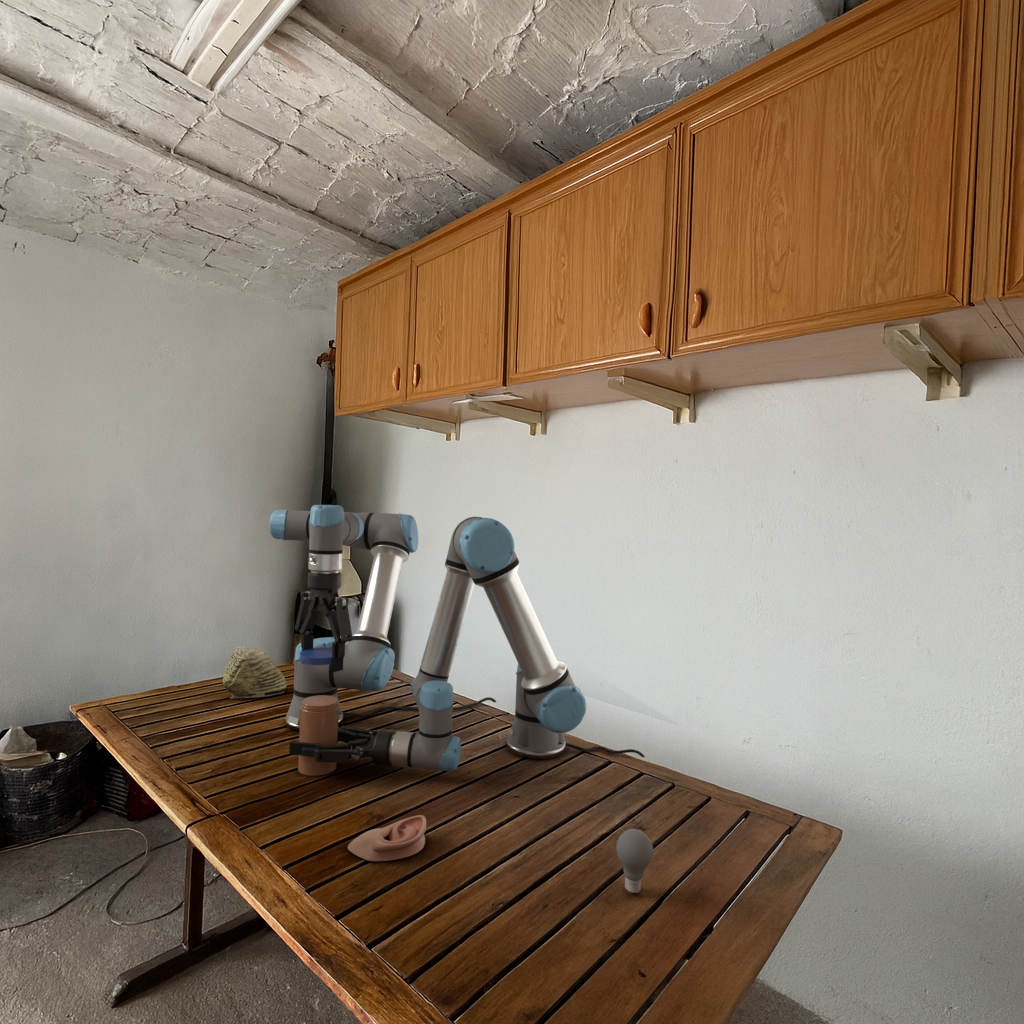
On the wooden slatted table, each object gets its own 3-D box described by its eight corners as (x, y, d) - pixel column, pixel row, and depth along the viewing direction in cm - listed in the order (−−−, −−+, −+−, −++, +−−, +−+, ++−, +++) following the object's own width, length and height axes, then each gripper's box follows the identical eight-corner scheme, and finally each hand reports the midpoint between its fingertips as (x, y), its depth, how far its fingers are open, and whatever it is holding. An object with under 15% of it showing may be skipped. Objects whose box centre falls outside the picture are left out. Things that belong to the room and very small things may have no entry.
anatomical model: (340, 834, 112) (368, 804, 123) (339, 856, 112) (367, 824, 123) (411, 845, 109) (433, 813, 120) (410, 868, 109) (432, 834, 120)
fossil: (218, 695, 195) (220, 647, 195) (278, 685, 208) (279, 640, 207) (228, 703, 189) (230, 653, 188) (289, 692, 201) (290, 645, 201)
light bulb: (610, 879, 108) (613, 822, 108) (644, 879, 109) (647, 822, 109) (619, 902, 102) (622, 840, 102) (655, 901, 103) (658, 840, 103)
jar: (316, 779, 142) (319, 709, 142) (289, 769, 146) (292, 701, 146) (344, 765, 149) (347, 699, 149) (317, 757, 154) (320, 692, 153)
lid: (306, 653, 152) (306, 646, 152) (348, 654, 153) (348, 648, 153) (294, 664, 142) (294, 657, 142) (338, 665, 143) (338, 658, 143)
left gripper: (280, 567, 150) (277, 660, 151) (345, 578, 138) (342, 679, 138) (306, 565, 156) (303, 654, 157) (371, 575, 144) (367, 672, 145)
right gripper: (377, 785, 135) (276, 775, 138) (405, 746, 156) (317, 739, 159) (378, 750, 135) (278, 741, 137) (406, 716, 156) (319, 709, 159)
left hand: (321, 666), depth 148 cm, fingers closed on lid, 10 cm apart
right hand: (299, 740), depth 148 cm, fingers closed on jar, 9 cm apart
